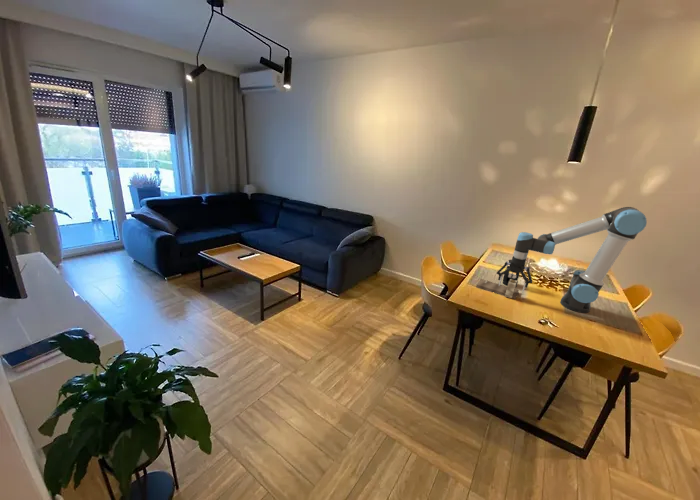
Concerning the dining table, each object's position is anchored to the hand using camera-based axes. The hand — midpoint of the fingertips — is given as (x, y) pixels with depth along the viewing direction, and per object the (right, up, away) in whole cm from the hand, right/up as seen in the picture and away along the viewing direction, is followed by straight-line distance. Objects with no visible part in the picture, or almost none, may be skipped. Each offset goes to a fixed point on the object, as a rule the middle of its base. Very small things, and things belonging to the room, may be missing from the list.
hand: (510, 288), depth 193 cm
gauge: (0, -5, +2) cm, 5 cm away
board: (-5, -2, +9) cm, 10 cm away
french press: (+9, 0, +19) cm, 21 cm away
